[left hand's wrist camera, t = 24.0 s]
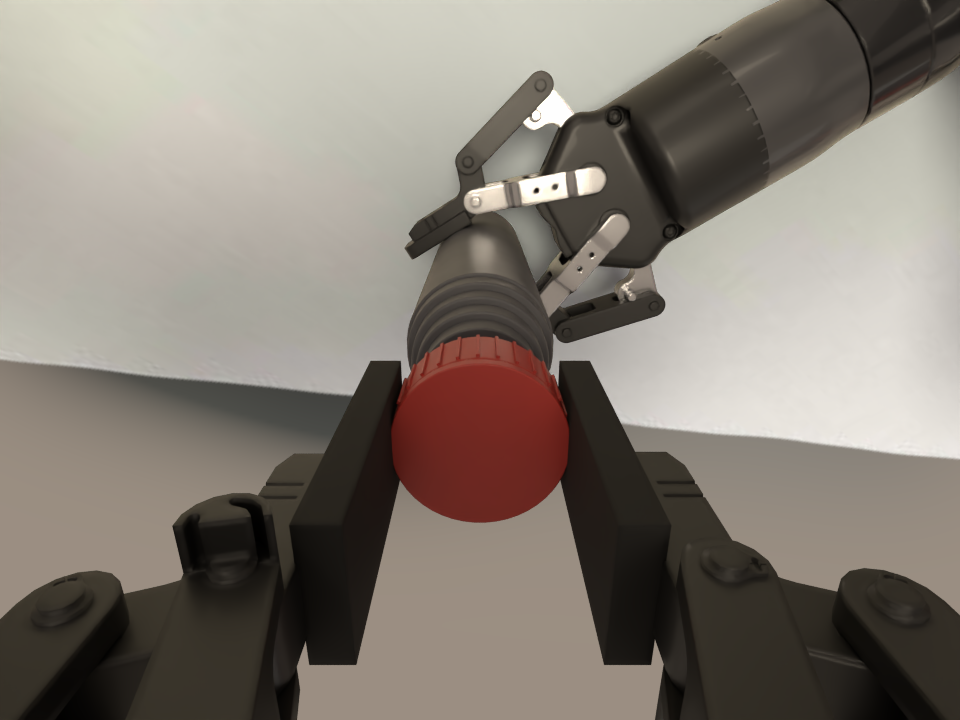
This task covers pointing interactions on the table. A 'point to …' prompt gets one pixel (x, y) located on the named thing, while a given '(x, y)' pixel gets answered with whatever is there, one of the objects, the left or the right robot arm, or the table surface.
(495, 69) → the table surface
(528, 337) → the bottle
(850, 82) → the right robot arm
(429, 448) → the cap
